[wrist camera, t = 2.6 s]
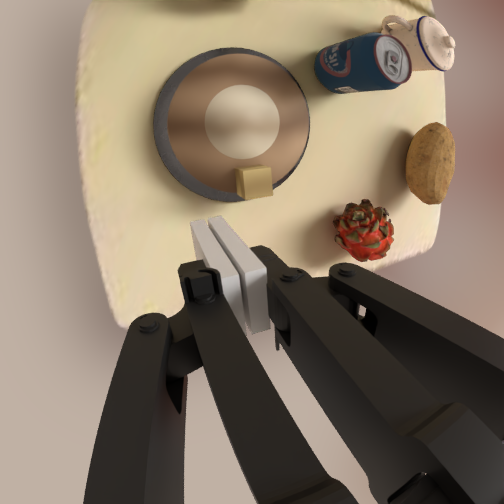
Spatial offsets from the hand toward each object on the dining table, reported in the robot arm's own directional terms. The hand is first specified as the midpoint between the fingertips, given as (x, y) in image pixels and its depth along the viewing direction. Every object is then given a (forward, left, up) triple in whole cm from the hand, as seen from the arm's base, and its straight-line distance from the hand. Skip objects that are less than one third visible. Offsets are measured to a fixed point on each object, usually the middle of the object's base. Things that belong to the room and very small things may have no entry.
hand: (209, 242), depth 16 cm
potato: (-1, +39, -19) cm, 43 cm away
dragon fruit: (+9, +25, -19) cm, 32 cm away
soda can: (-14, +22, -19) cm, 31 cm away
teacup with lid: (-21, +35, -19) cm, 44 cm away
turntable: (-7, +8, -18) cm, 21 cm away
